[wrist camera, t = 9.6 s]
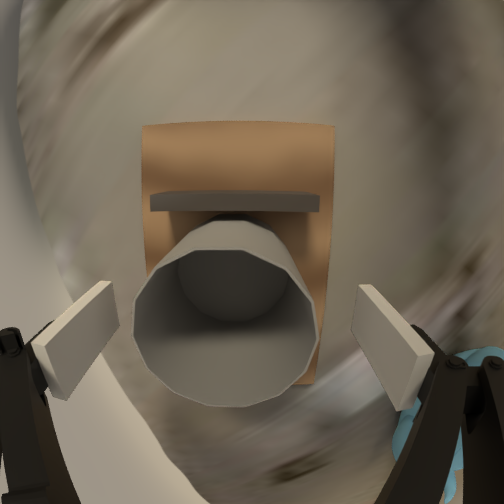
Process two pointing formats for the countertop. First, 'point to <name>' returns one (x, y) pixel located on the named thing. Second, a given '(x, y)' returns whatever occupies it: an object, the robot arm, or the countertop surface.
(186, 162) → the end holder
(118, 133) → the countertop surface
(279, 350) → the cup
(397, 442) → the teapot
